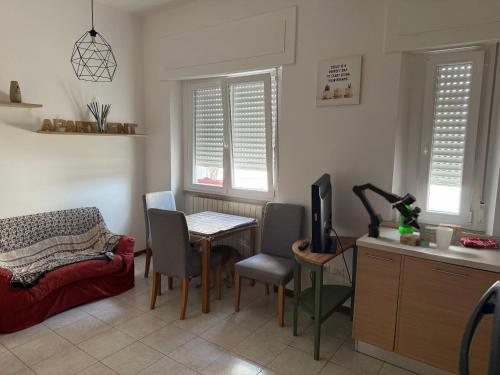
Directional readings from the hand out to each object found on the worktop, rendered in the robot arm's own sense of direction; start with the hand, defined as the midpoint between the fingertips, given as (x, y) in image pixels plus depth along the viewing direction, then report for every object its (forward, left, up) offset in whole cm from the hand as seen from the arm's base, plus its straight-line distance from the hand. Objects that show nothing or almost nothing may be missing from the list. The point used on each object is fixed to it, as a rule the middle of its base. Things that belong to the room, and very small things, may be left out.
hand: (420, 229), depth 222 cm
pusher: (+1, 0, -5) cm, 5 cm away
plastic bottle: (-14, +19, -10) cm, 26 cm away
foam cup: (+13, 0, -10) cm, 17 cm away
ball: (+4, 0, -8) cm, 9 cm away
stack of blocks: (+9, +18, -10) cm, 23 cm away
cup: (+3, 0, -10) cm, 11 cm away
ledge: (-4, 0, -10) cm, 11 cm away
